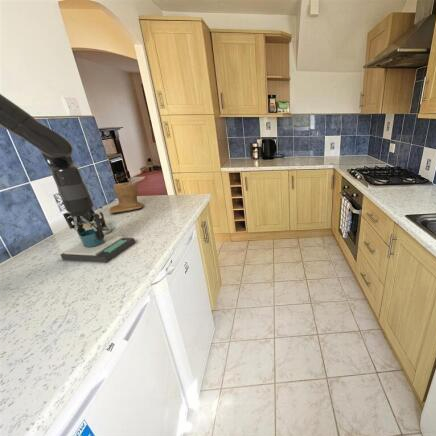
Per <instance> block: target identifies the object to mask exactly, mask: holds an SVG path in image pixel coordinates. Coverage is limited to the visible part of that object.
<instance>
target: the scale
mask: <svg viewBox="0 0 436 436" xmlns="http://www.w3.org/2000/svg"><path fill="white" fill-rule="evenodd" d="M135 244H136V240H135V238H134V237H124V236H118V235H117V236H116V235H104V242H103V243H102V244H101V245H98V246H96V247H90V248H88V247H84V246H83V244H82V242H79V243H78V244H76V245H74V246H72V247H71V248H68V249H66V250H64V251H63V253H61V254H60V257H61V259H62V261H71V262H72V261H73V262H91V263H109V262H110V261H112V260H113V259H114V258H116V257H117V256H119V255H120V254H122V253H123V252H125V251H126V250H128V249H129V248H131V247H132V246H134V245H135Z"/></svg>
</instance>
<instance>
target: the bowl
mask: <svg viewBox="0 0 436 436" xmlns="http://www.w3.org/2000/svg"><path fill="white" fill-rule="evenodd" d="M78 237H79V239H80V243H82V244H83V246H84V247H88V248H90V247H96V246H98V245H101V244H102V243H103V242H104V238H103V239H101V240H98V239H97V237H96V235H95V232H94V230H93V229H89V230H86V231H83V232H81V233H80V234H79V235H78Z"/></svg>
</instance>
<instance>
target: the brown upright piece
mask: <svg viewBox="0 0 436 436" xmlns="http://www.w3.org/2000/svg"><path fill="white" fill-rule="evenodd" d="M113 193H114V194H115V196H116V199H117V200H118V203H117V204H115V205H113V206H110V208H109V210H108V212H109V214H116V213H117V214H118V213H123V212H129V211H135V210H140V209H141V208H143V207H144V204H143V203H142V202H139V201H138V187H137V184H136V182H135V183H134V182H123V183H120V182H119V183H114V184H113Z"/></svg>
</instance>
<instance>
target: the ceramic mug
mask: <svg viewBox="0 0 436 436" xmlns="http://www.w3.org/2000/svg"><path fill="white" fill-rule="evenodd" d="M93 222H94V220H93V221H92V222H90V223H93ZM94 225H95V226H96V227H97V225H96V224H94ZM101 225H102V224H101ZM83 228H84V229H85V231H86V230H89V229H93V228H92V227H89V226H88V225H87V224H85V223H84V227H83ZM104 228H105V229H106V230H103V229H104ZM104 228H102V231H103V234H104V235H107V234H110V233H111V232H112V226H110V225H108V224H106V227H104ZM107 229H108V230H107Z"/></svg>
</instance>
